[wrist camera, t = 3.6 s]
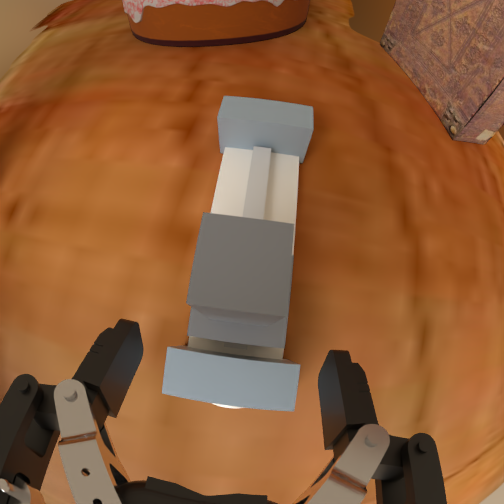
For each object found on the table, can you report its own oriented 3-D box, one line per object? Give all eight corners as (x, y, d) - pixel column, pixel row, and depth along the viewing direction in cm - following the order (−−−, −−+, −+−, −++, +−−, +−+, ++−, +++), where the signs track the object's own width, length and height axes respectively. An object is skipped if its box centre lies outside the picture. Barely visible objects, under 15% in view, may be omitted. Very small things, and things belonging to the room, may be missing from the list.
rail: (281, 401, 19) (292, 418, 14) (178, 387, 19) (161, 400, 14) (303, 137, 27) (313, 103, 22) (226, 127, 27) (225, 92, 22)
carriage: (277, 347, 19) (317, 354, 9) (195, 336, 19) (147, 331, 9) (286, 267, 21) (326, 200, 11) (207, 257, 21) (179, 182, 11)
